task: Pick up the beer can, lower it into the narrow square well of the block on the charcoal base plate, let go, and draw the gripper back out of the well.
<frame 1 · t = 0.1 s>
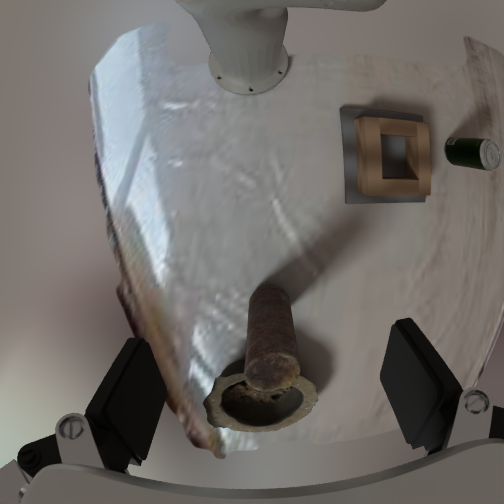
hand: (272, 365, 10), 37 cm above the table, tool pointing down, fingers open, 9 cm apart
brown cylinder: (269, 299, 50), on the table
stone bowl: (261, 384, 58), on the table
beer can: (451, 151, 39), on the table
well block: (386, 156, 41), on the table
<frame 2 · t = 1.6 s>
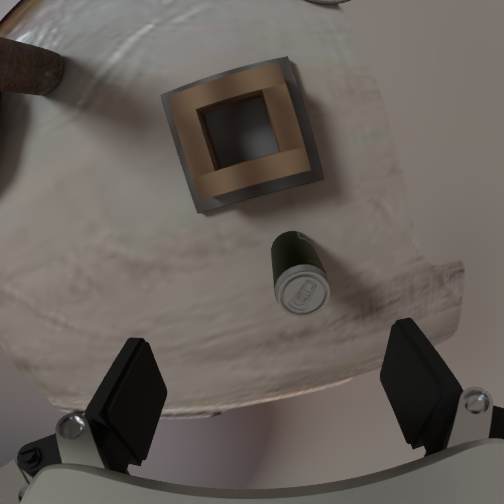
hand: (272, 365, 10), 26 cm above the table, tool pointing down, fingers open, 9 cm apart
brown cylinder: (52, 74, 27), on the table
beer can: (291, 248, 36), on the table
well block: (241, 132, 31), on the table
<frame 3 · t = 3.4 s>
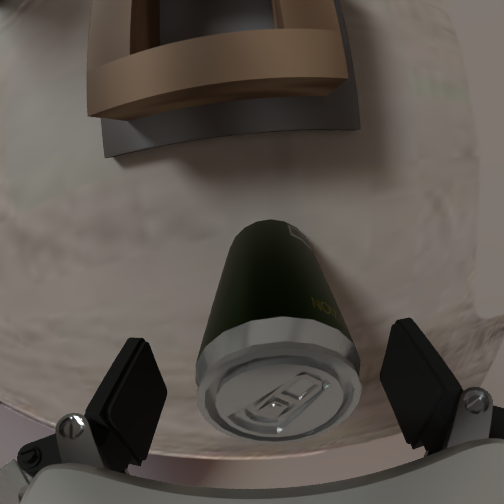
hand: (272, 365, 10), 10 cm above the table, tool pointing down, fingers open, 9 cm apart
beer can: (269, 255, 18), on the table
well block: (216, 25, 13), on the table
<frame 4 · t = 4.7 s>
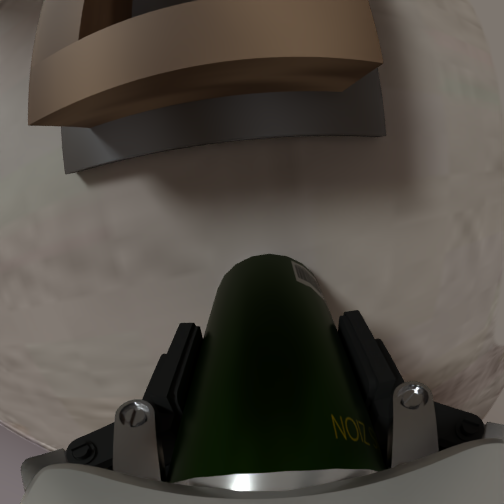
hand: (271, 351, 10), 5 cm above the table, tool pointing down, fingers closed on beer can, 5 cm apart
beer can: (268, 294, 15), on the table, touching gripper
well block: (202, 5, 9), on the table
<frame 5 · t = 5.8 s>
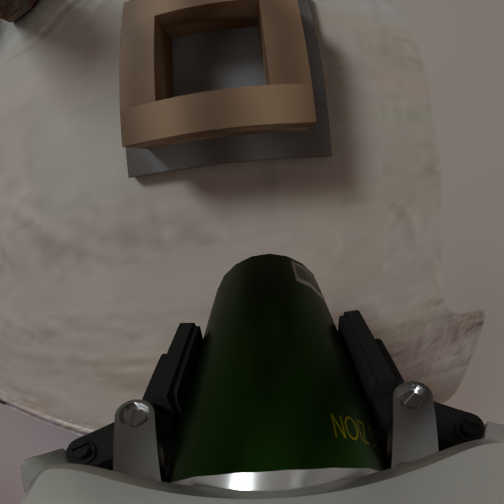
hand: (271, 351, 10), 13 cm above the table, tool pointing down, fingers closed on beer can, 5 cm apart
brown cylinder: (31, 1, 13), on the table
beer can: (268, 294, 15), point 8 cm above the table, touching gripper
well block: (218, 69, 18), on the table
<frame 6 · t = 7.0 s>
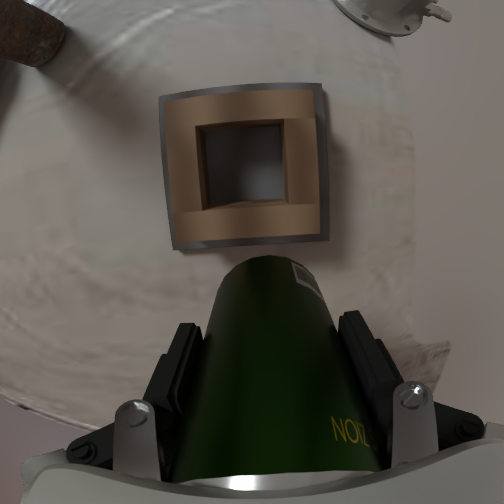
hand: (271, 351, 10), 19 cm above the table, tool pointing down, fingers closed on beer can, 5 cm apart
brown cylinder: (51, 45, 20), on the table
beer can: (268, 295, 15), point 14 cm above the table, touching gripper
well block: (244, 164, 26), on the table
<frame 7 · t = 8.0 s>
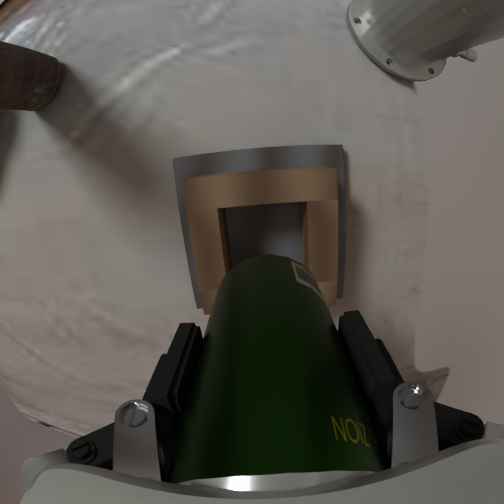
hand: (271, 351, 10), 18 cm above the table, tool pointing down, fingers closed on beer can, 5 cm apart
brown cylinder: (47, 84, 22), on the table
beer can: (268, 295, 15), point 13 cm above the table, touching gripper
well block: (264, 229, 27), on the table
when the fingers open (7 cm above the table, at t = 10.3 s): beer can drops 1 cm, resting on well block.
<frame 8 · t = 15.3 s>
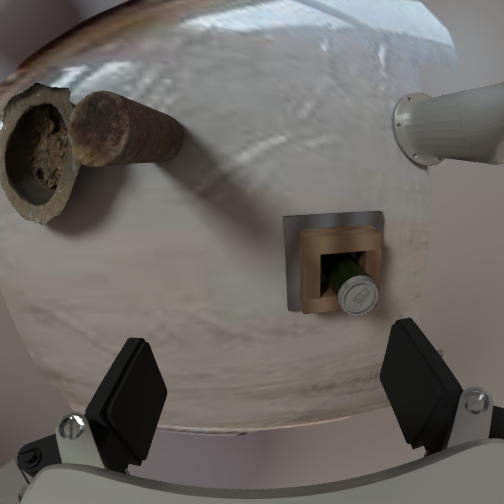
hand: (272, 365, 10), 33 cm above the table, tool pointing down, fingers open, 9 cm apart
brown cylinder: (163, 138, 38), on the table
stone bowl: (54, 152, 38), on the table
beer can: (336, 262, 43), point 1 cm above the table, touching well block
well block: (334, 261, 44), on the table
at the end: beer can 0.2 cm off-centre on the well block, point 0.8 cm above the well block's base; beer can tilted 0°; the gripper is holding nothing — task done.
